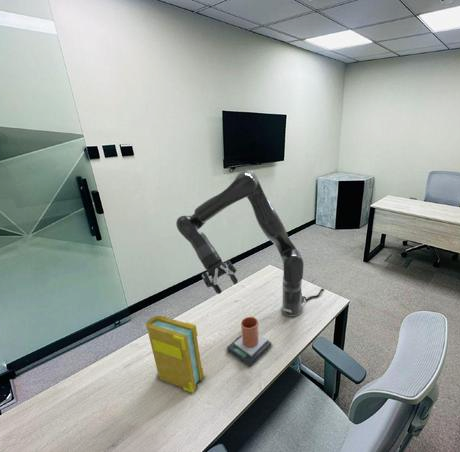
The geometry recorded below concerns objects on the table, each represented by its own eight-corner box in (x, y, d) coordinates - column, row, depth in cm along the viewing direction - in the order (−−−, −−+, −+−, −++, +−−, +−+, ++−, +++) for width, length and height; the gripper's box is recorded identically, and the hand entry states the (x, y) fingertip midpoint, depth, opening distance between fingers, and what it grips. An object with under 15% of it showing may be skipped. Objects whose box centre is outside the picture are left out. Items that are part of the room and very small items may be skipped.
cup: (250, 332, 117) (249, 314, 113) (262, 340, 113) (261, 321, 109) (239, 342, 112) (237, 323, 108) (250, 350, 108) (249, 331, 104)
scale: (249, 332, 121) (249, 326, 120) (271, 345, 114) (271, 340, 113) (227, 350, 111) (226, 344, 110) (249, 366, 104) (249, 361, 103)
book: (204, 376, 100) (195, 324, 90) (192, 393, 94) (182, 339, 85) (167, 363, 105) (156, 313, 96) (154, 378, 99) (141, 326, 90)
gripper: (197, 258, 105) (218, 293, 103) (225, 245, 115) (245, 277, 113) (190, 265, 110) (211, 299, 108) (218, 253, 120) (237, 283, 118)
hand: (228, 288), depth 110 cm, fingers open, 8 cm apart
